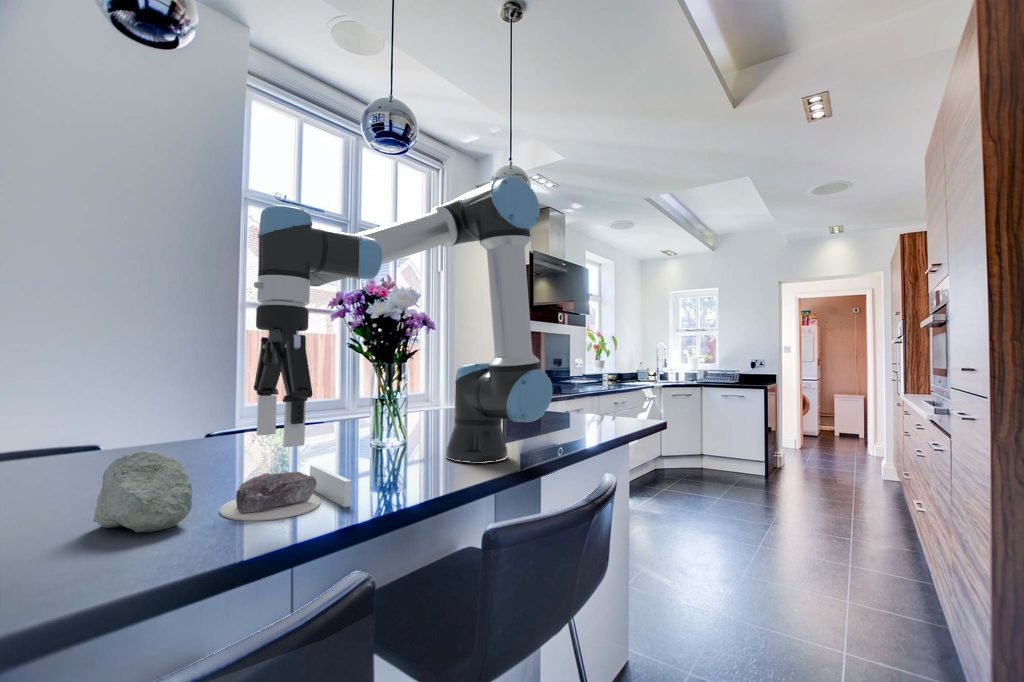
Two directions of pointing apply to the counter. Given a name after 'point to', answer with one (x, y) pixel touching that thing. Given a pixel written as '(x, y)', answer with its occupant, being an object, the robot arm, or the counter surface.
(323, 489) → the divider wall
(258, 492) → the rock
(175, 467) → the decorative stone
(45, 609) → the counter surface
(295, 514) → the pad
